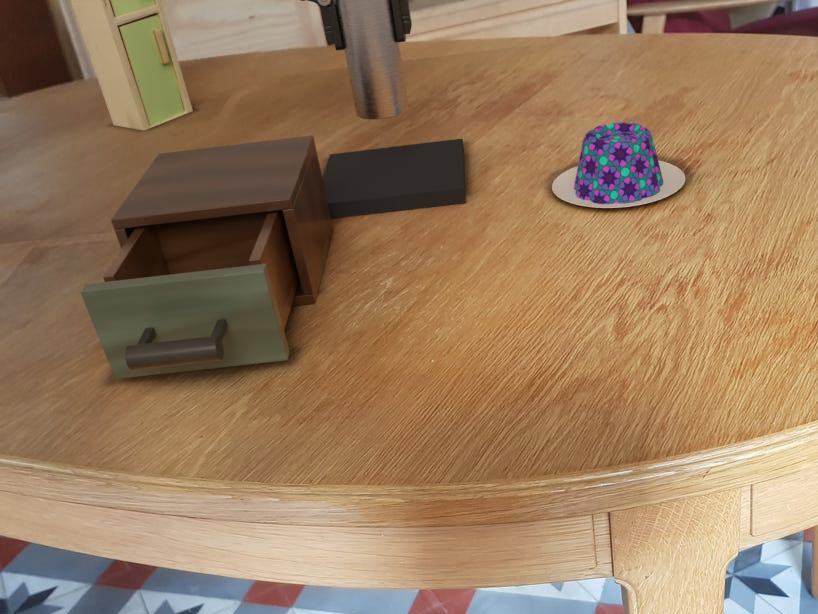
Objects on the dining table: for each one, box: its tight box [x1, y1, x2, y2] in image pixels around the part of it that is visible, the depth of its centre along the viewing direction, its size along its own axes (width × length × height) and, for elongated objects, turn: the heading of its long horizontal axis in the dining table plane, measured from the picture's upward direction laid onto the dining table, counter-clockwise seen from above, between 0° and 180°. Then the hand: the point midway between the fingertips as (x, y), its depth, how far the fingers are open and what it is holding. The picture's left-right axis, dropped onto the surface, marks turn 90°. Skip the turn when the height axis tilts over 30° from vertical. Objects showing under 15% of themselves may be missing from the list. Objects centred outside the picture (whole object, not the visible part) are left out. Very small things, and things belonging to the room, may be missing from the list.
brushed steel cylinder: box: [335, 0, 410, 120], centre depth 86 cm, size 5×5×11 cm
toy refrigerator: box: [69, 0, 194, 131], centre depth 114 cm, size 8×7×21 cm
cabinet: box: [110, 134, 334, 307], centre depth 78 cm, size 15×14×9 cm
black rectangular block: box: [322, 138, 467, 219], centre depth 93 cm, size 14×14×2 cm
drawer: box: [80, 210, 299, 380], centre depth 68 cm, size 18×12×7 cm
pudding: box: [551, 122, 686, 209], centre depth 85 cm, size 12×12×5 cm
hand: (370, 43), depth 86 cm, fingers closed on brushed steel cylinder, 5 cm apart
